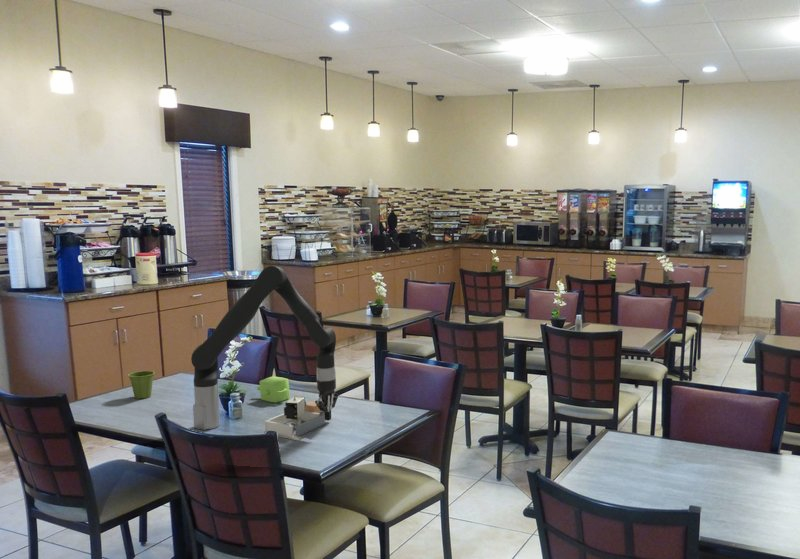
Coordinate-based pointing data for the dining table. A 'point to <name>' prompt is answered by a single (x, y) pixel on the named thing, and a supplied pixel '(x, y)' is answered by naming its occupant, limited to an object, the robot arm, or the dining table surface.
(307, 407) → the block
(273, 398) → the lime green lidded box
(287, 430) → the tray
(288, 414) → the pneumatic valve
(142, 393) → the plant pot
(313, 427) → the grey flat board
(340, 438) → the dining table surface
